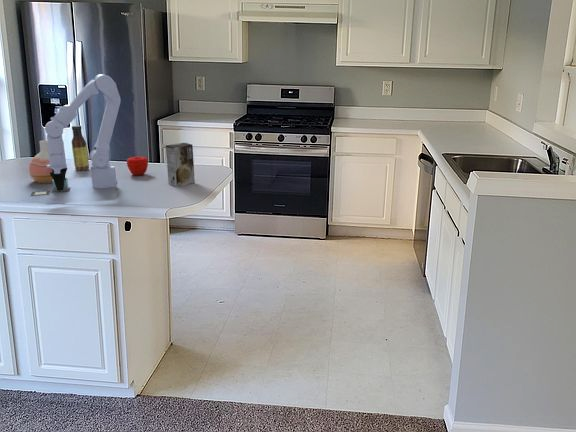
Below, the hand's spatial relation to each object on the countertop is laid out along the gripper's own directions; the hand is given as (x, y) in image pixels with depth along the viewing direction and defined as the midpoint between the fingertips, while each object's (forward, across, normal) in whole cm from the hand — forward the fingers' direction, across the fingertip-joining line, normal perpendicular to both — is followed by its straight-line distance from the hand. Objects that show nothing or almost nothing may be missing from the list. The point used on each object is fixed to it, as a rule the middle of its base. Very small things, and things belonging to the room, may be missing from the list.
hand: (60, 188), depth 216 cm
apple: (+2, -24, +30) cm, 38 cm away
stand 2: (+2, 0, 0) cm, 2 cm away
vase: (+2, -18, -6) cm, 19 cm away
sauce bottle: (+2, -43, +6) cm, 43 cm away
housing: (+1, 0, 0) cm, 1 cm away
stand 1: (+2, +3, -7) cm, 8 cm away
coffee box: (+2, -2, +46) cm, 46 cm away
